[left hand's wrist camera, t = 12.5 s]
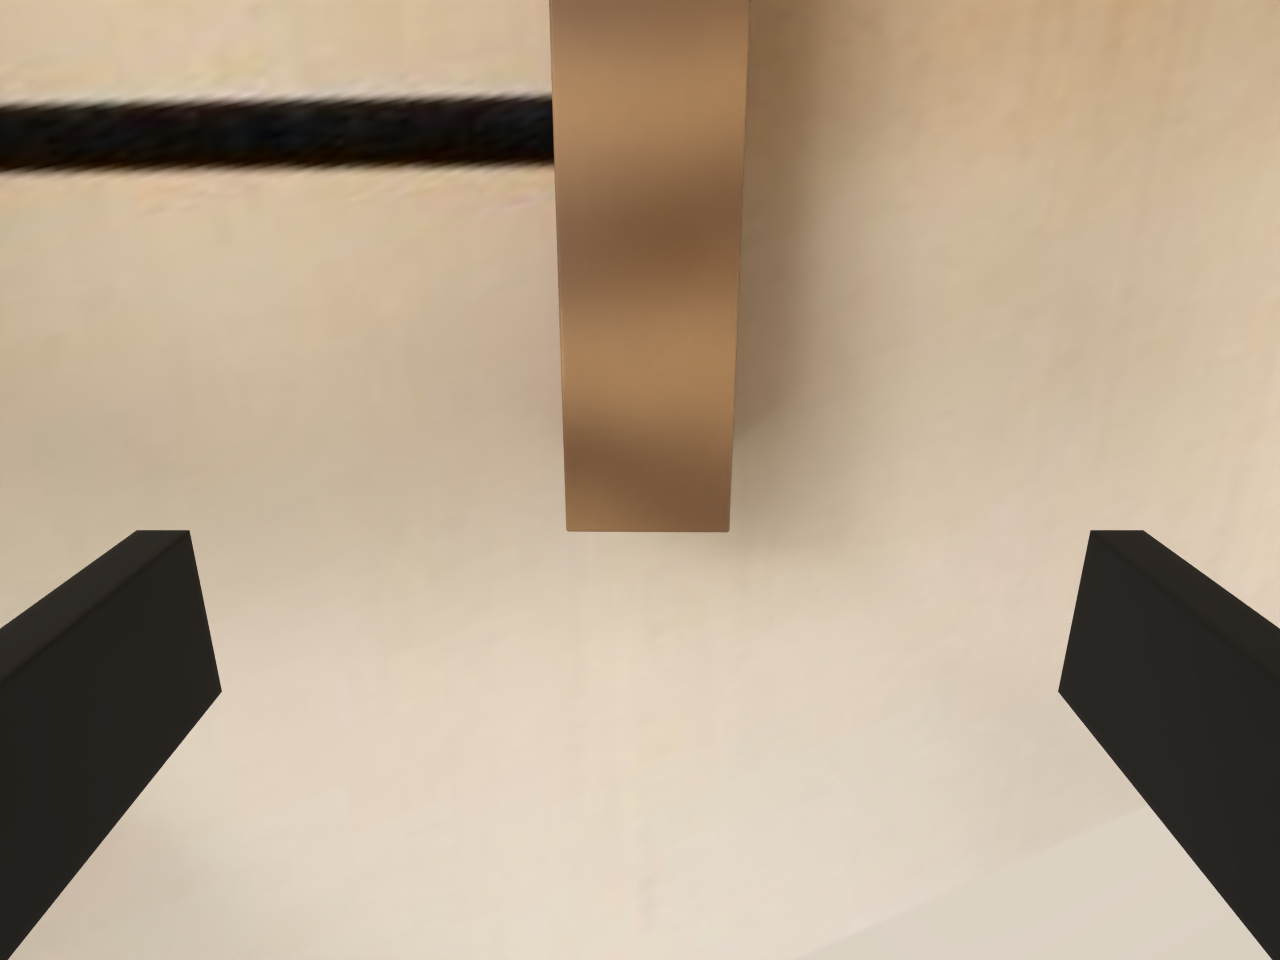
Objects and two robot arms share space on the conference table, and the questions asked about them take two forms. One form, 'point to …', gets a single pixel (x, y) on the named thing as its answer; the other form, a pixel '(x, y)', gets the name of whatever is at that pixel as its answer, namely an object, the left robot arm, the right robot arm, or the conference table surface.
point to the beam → (648, 256)
